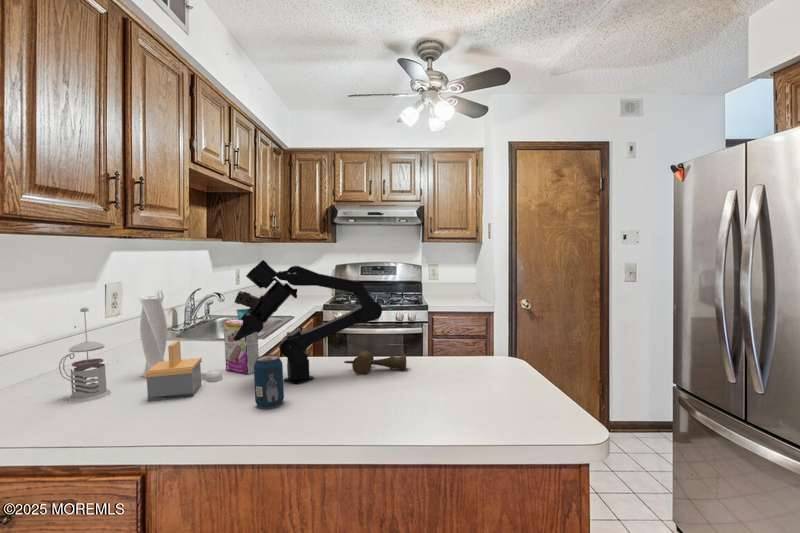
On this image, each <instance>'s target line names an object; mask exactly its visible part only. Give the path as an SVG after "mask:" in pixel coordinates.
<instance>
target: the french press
mask: <svg viewBox="0 0 800 533" xmlns="http://www.w3.org/2000/svg"><path fill="white" fill-rule="evenodd" d="M89 311H90V310H89V308H88V307H86V306H85V307H81V308H80V313H84V314H83V315H84V331H85V341H84V342H80V343H77V344H75V345H73V346H72V347H70V348H69V349H68V352H69V353H68V354H66V355H65V356H63V357H62V358H61V359H60V361H59V364H58V367H59V368H58V369H59V373H60V375H61V377H62V378H64V379H65V380H67V381H69V382H71V383H70V384H71V396H70V397H69V398H67V402H68V401H70V402H69V403H72V402H77V403H85V402H86V401H87V402H91V401H96V400H100V399H102V398H105V397H107V396H109V395H110V394H111V393H112V391H111V390H110V389H108V388H107V377H106V375H107V374H106V373H107V372H106V363H102V362H104V359H103V358H99V357H98V358H89V352H94V351H98V350H101V349H103V348H104V347H105V346H106V345H105V344H103V343H101V342H98V341H89V340H88V336H87V335H88V334H87V333H88V332H87V320H86V312H89ZM104 349H105V348H104ZM85 352H86V358H87V359H81V360H78V361H75V362H72V363H71V366H72V367H73V369H72V368H70V375H69V374H68V373H67V372H66V369H65V362H66V359H67V358H68V357H69V359H70V360H72V359H74V358H75V353H85ZM62 361H63V362H62ZM61 364H62V370H63V371H64V374H65V375H66V376H67V377H68V378H66V376H64V374H63V373H62V370H61ZM92 368H93V369H92ZM73 376H74V377H73ZM69 378H70V379H69ZM88 378H89V379H88ZM88 383H89V384H88Z"/></svg>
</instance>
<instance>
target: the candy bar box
mask: <svg viewBox="0 0 800 533" xmlns="http://www.w3.org/2000/svg"><path fill="white" fill-rule="evenodd" d="M242 324H243V320H238V319H232V320H227V321H224V322H223V337H224V338H223V339H224V340H223V341H224V354H225V356H224V357H225V371H226V372H227V371H228V372H233V373H238V374H242V373H243V374H244V375H247V374H248V375H252V374H254V364H255V362H256V358H258V357H260V356H259V340H258V337H259V336H257V332H254V333H252V334H250V335H248V336H246V337H244V338H242V339H240V340H238V341H235V340H234V339H233V338H234V337H235V335H236V334H237V332H238V331H239V329H240V328H241V326H242ZM251 373H252V374H251ZM243 374H242V375H243Z"/></svg>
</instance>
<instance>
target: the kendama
mask: <svg viewBox="0 0 800 533" xmlns="http://www.w3.org/2000/svg"><path fill="white" fill-rule="evenodd" d="M343 363H344V364H349V365H350V364H351V367H352V371H353V372H354V373H355V374H356V375H357V376H360V375H362V376H363V375H368V374H369V373H370V372H371V370H372V365H373V366H379V367H385V368H389V369H390V370H393V369H399V370H402V371H403V372H406V368H407V356H406V354H402V355H401V356H394V355H390V356H389V357H384V358H380V359H378V358H377V359H374V355H373V353H372V352H370V351H368V350H362V351H360V352H359V353H358V355H357V356H356V357H355V358H354V359H353V360H344V361H343Z"/></svg>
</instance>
